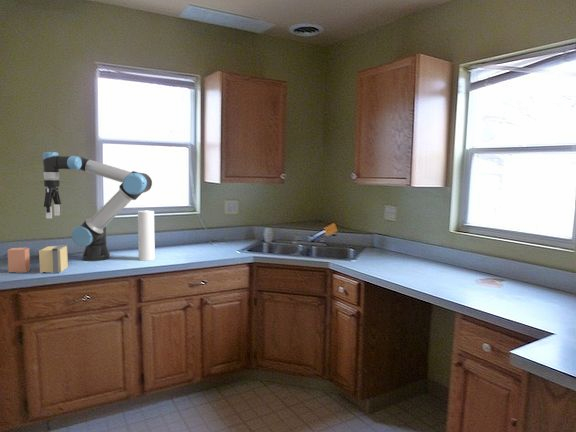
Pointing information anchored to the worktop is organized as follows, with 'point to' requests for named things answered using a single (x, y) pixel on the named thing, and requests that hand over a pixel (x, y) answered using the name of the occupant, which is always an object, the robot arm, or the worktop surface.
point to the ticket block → (53, 258)
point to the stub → (18, 259)
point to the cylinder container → (146, 235)
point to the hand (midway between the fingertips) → (53, 217)
